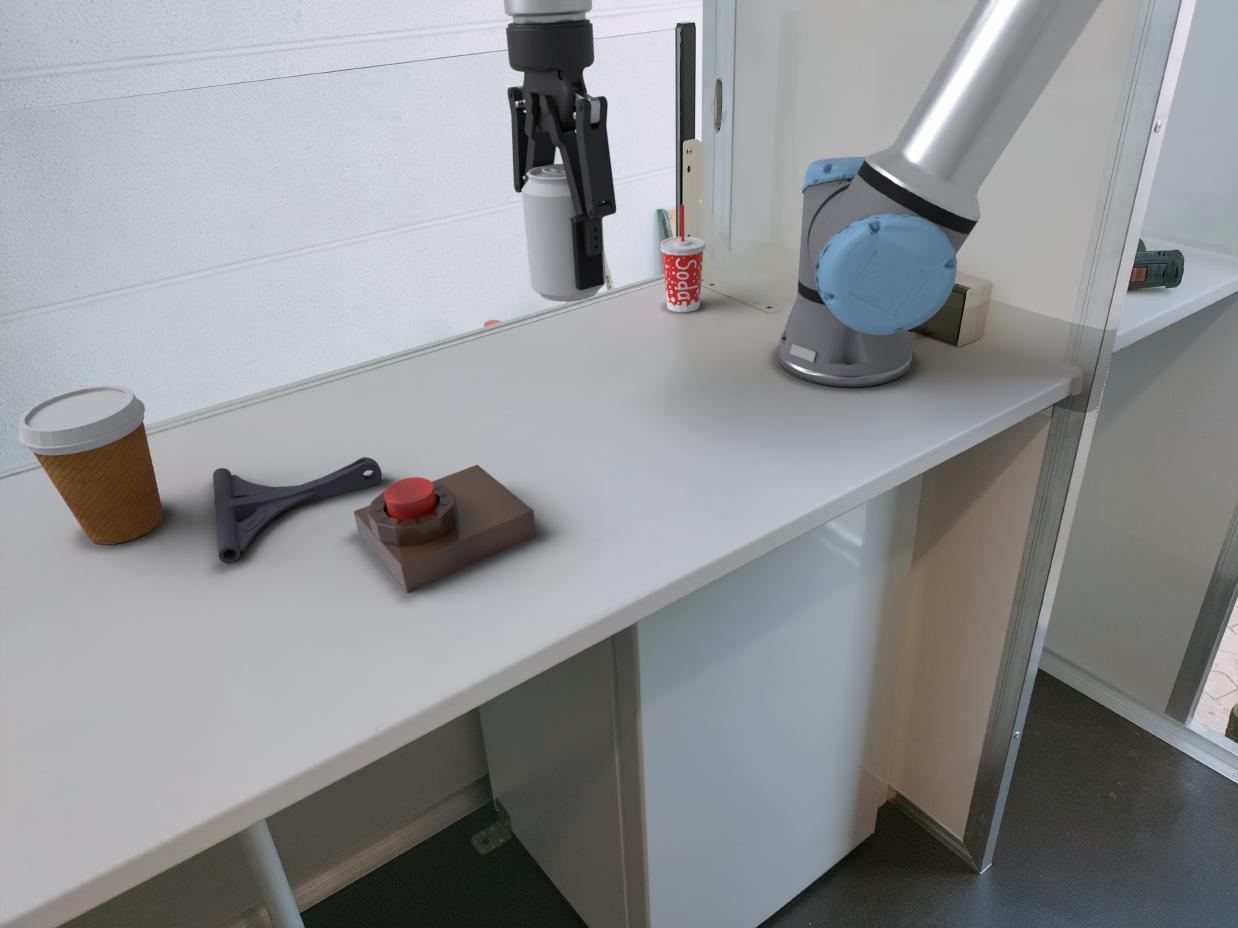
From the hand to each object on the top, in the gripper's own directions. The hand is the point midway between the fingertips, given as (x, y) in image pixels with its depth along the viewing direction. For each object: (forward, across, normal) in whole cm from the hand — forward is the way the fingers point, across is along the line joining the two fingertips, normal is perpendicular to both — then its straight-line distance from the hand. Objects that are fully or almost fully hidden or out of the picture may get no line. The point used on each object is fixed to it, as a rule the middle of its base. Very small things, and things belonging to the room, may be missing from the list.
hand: (568, 276), depth 85 cm
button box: (+15, +13, -21) cm, 29 cm away
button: (+11, +13, -24) cm, 29 cm away
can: (+2, 0, 0) cm, 2 cm away
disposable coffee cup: (+16, -8, -44) cm, 47 cm away
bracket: (+16, -1, -30) cm, 34 cm away
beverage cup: (+15, -18, +29) cm, 37 cm away
